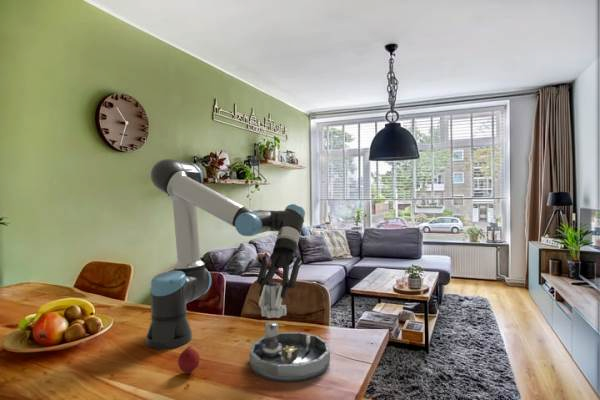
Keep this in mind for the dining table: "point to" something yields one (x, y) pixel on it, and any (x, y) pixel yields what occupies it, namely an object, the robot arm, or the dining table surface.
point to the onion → (188, 360)
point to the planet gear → (273, 302)
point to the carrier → (289, 355)
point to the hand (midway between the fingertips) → (269, 307)
